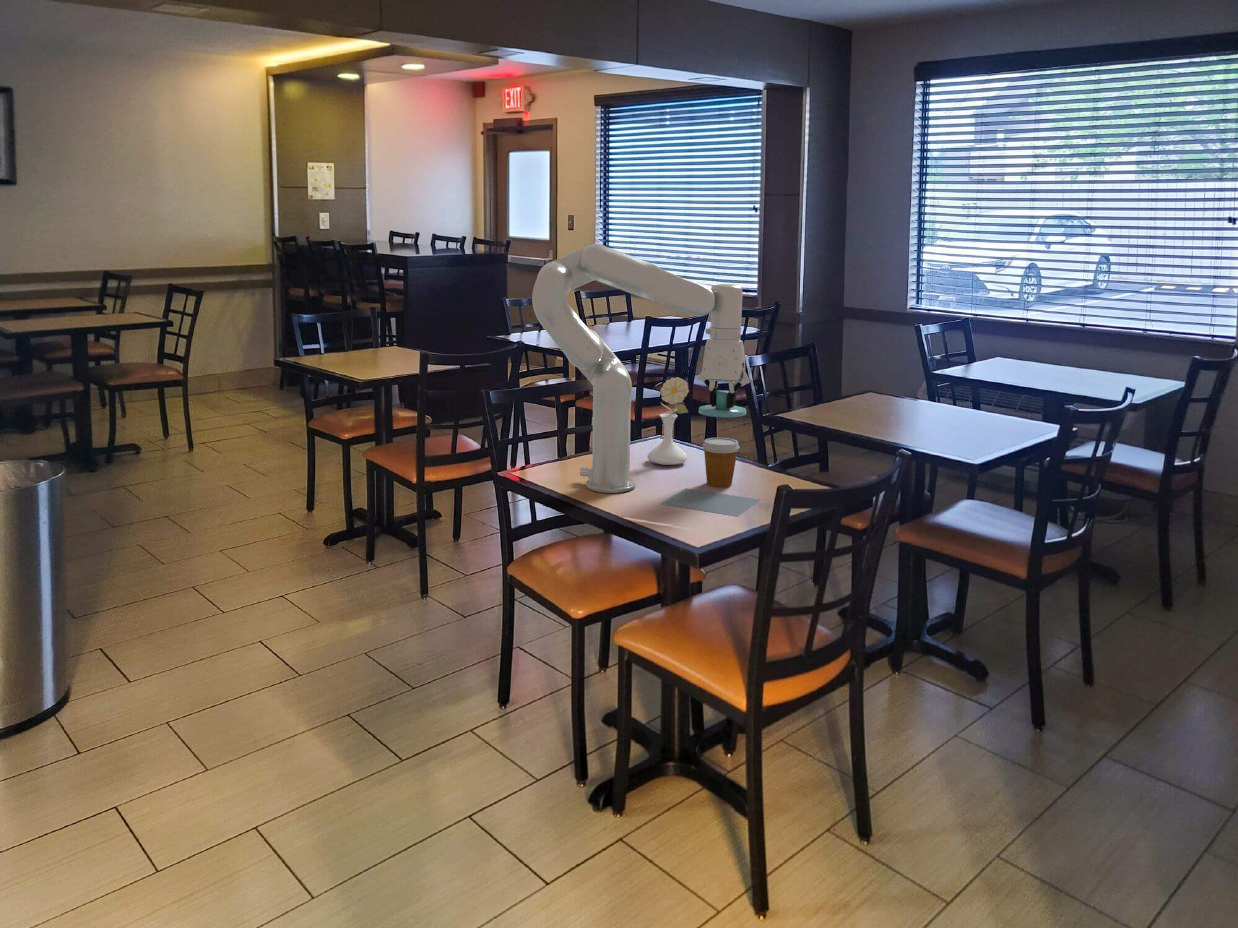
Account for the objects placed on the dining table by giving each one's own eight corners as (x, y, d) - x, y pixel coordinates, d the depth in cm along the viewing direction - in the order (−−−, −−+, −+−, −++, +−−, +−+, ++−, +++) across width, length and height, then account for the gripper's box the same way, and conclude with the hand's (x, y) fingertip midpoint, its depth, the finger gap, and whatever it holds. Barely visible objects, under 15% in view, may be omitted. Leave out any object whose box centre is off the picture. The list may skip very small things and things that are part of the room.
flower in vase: (638, 462, 281) (640, 374, 275) (667, 456, 288) (669, 371, 282) (671, 471, 272) (674, 381, 265) (699, 465, 279) (703, 377, 273)
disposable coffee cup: (735, 492, 252) (738, 446, 250) (698, 489, 254) (700, 444, 251) (739, 482, 262) (741, 438, 259) (703, 480, 263) (704, 436, 260)
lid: (691, 414, 250) (692, 392, 249) (709, 406, 260) (710, 386, 259) (736, 419, 245) (737, 397, 243) (752, 411, 255) (753, 390, 254)
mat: (659, 505, 240) (659, 503, 240) (685, 490, 254) (685, 488, 253) (737, 518, 231) (737, 516, 231) (760, 501, 245) (760, 499, 245)
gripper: (689, 333, 248) (686, 405, 253) (751, 338, 241) (748, 412, 245) (700, 330, 255) (698, 401, 259) (762, 335, 247) (758, 407, 252)
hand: (722, 406), depth 252 cm, fingers closed on lid, 3 cm apart
